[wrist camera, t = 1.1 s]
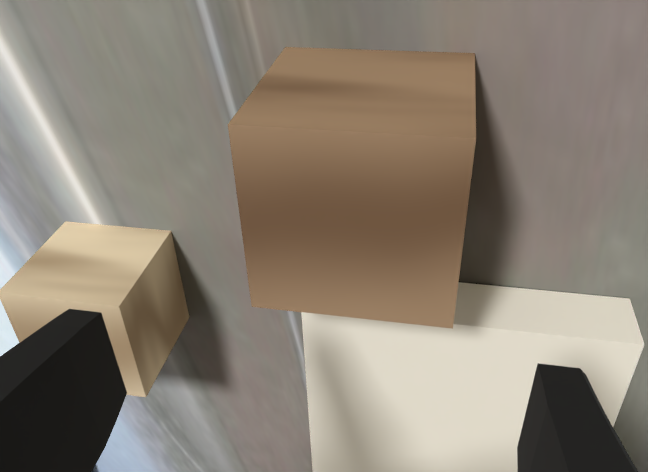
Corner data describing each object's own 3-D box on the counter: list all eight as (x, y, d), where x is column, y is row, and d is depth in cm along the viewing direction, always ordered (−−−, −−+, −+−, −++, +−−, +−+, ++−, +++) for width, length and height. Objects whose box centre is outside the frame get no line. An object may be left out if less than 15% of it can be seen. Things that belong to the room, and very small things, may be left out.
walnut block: (456, 214, 19) (452, 328, 15) (296, 202, 20) (252, 306, 16) (474, 52, 16) (476, 138, 12) (286, 46, 17) (227, 124, 13)
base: (566, 486, 25) (573, 533, 23) (323, 450, 27) (314, 492, 25) (630, 298, 19) (644, 344, 17) (314, 268, 21) (301, 307, 19)
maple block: (190, 315, 23) (145, 397, 20) (94, 304, 24) (37, 382, 21) (172, 229, 21) (119, 306, 18) (66, 220, 22) (-3, 292, 19)
